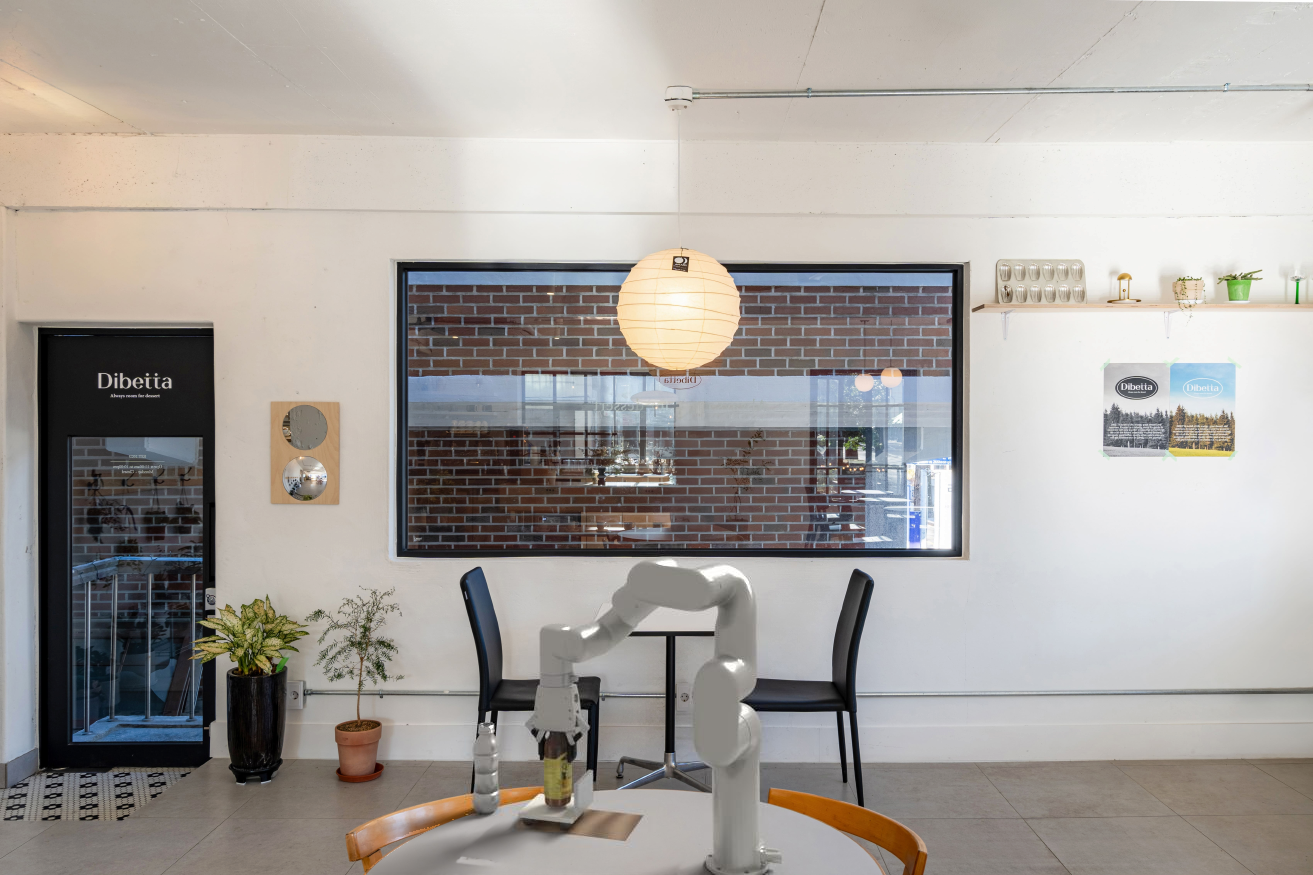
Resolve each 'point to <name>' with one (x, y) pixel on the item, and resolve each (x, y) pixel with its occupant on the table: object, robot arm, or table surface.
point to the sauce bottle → (557, 770)
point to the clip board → (592, 825)
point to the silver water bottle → (486, 770)
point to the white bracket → (561, 813)
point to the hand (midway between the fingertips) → (557, 758)
